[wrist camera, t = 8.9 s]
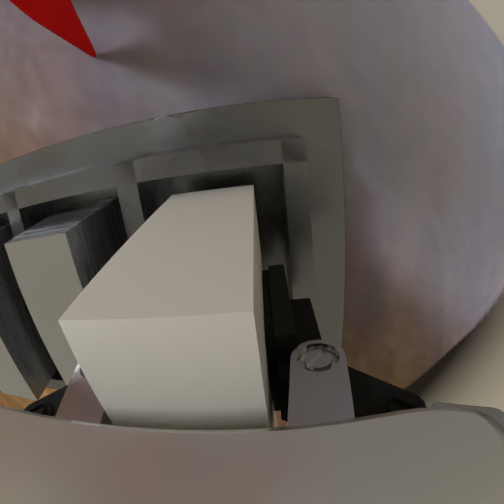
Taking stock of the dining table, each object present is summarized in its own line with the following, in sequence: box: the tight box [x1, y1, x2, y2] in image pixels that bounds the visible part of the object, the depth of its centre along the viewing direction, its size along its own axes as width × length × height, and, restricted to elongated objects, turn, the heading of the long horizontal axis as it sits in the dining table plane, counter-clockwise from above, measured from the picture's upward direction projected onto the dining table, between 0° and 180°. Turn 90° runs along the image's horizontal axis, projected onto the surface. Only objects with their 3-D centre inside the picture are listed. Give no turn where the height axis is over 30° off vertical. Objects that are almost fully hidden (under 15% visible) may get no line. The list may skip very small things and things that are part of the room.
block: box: [58, 185, 277, 430], centre depth 9 cm, size 8×3×8 cm, turn 6°
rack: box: [0, 98, 345, 400], centre depth 13 cm, size 14×22×6 cm, turn 96°
